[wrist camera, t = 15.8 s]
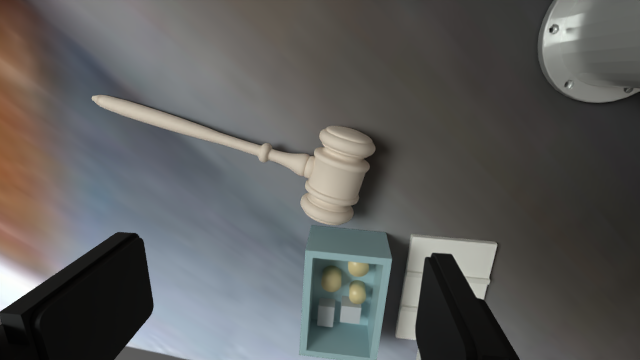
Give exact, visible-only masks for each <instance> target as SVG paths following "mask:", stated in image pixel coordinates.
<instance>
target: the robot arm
mask: <svg viewBox="0 0 640 360" xmlns="http://www.w3.org/2000/svg"><path fill="white" fill-rule="evenodd" d="M549 28H550V29H551V32H549ZM538 59H539V63H540V66H541V69H542V72H543V74H544V76H545V77H546V79H547V81H548V82H549V83H550V84H551V85H552V86H553V88H554V89H555V90H557V91H558V92H560V93H561V94H563V95H564V96H566V97H569V98H571V99H574V100H578V101H584V102H593V103H603V102H612V101H616V100H620V99H623V98H627V97H629V96H631V95H633V94H635V93H637V92H640V0H554V1H553V2H552V4H551V5H550V7H549V9H548V11H547V13H546V15H545V17H544V19H543V22H542V25H541V29H540V32H539V39H538ZM565 83H566V85H565ZM153 306H154V305H153V297H152V291H151V285H150V279H149V272H148V266H147V260H146V253H145V247H144V242H143V239H142V238H139V236H138V234H136V233H124V232H117V233H115V234H114V235H112V236H111V237H109V238H108V239H106V240H105V241H103V242H102V243H101V244H99V245H98V246H96V247H95V248H93V249H92V250H90V251H89V252H87V253H86V254H84V255H83V256H81V257H80V258H78V259H77V260H75V261H74V262H73V263H71V264H70V265H68V266H67V267H65V268H64V269H62V270H61V271H59V272H58V273H56V274H55V275H53V276H52V277H50V278H49V279H47V280H46V281H45V282H43V283H42V284H40V285H39V286H37V287H36V288H34V289H33V290H31V291H30V292H28V293H27V294H25V295H24V296H22V297H21V298H20V299H18V300H17V301H15V302H14V303H12V304H11V305H9V306H8V307H6V308H5V309H3V310H2V311H0V319H1V322H2V324H1V325H0V360H114V359H115V358H116V357H117V355H118V354H119V353H120V352H121V351H122V349H123V348H124V347H125V346H126V345H127V343H128V342H129V341H130V340H131V339H132V337H133V336H134V335H135V334H136V332H137V331H138V330H139V329H140V328H141V326H142V325H143V324H144V323H145V322H146V320H147V319H148V318H149V317H150V315H151V314H152V311H153ZM415 336H416V341H417V345H418V349H419V353H420V357H421V360H520V359H519V357H518V356H517V354H516V352H515V351H514V349H513V347H512V346H511V344H510V342H509V341H508V339H507V337H506V335H505V334H504V332H503V330H502V329H501V327H500V325H499V324H498V322H497V320H496V319H495V317H494V315H493V314H492V312H491V310H490V309H489V307H488V305H487V304H486V302H485V301H484V300H483V299H481V298H477V297H476V296H475V294H474V292H473V290H472V289H471V287H470V285H469V283H468V282H467V280H466V278H465V276H464V274H463V273H462V271H461V269H460V267H459V266H458V264H457V262H456V260H455V259H454V257H453V255H452V254H447V253H432V254H431V257H425V261H424V267H423V274H422V281H421V289H420V296H419V303H418V310H417V317H416V324H415Z"/></svg>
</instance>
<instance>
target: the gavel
mask: <svg viewBox="0 0 640 360" xmlns="http://www.w3.org/2000/svg"><path fill="white" fill-rule="evenodd" d="M92 100H93V101H95V102H96V104H97V105H99V106H101V107H103V108H105V109H107V110H110V111H113V112H115V113H118V114H120V115H123V116H126V117H129V118H132V119H135V120H138V121H141V122H145V123H148V124H151V125H154V126H157V127H160V128H164V129H167V130H171V131H174V132H177V133H181V134H185V135H188V136H192V137H195V138H199V139H203V140H206V141H210V142H215V143H219V144H222V145H225V146H229V147H232V148H235V149H238V150H241V151H244V152H247V153H250V154H253V155H256V156H259V160H260V161H261V162H267V161H268V160H271V161H274V162H277V163H279V164H281V165H283V166H285V167H287V168H289V169H291V170H292V171H293V172H295V173H296V174H298V175H299V176H305V177H306V178H309V179H308V180H307V181H306V184H305V188H306V190H307V191H308V192H309V193H306V194H305V195H303V196H302V198H301V206H302V208H303V210H304V211H305V213H306V214H307V215H308V216H309V217H311V218H312V219H314V220H316V221H318V222H321V223H324V224H328V225H341V224H343V223H346V222H348V221H350V220H351V218H352V217H353V214H354V213H353V208H352V207H351V205H354V204H356V203H357V202H358V200H359V195H358V193H359V190H360V187H361V185H362V182H363V179H364V176H365V173H366V172H367V171H368V170H369V168H370V165H369V163H368V162H367V161H366V160H364V158H367V157H368V156H371V155H372V154H373V153H374V152H375V145H374V144H373V141H372V139H371V138H369V137H368V136H367V135H365V134H363V133H361V132H359V131H357V130H354V129H351V128H347V127H341V126H329V127H327V128H326V129H323V130H322V131H321V132H320V136H319V138H320V140H321V141H322V144H323V145H324V147H318V148H316V149H315V151H314V156H309V155H308V154H293V153H286V152H281V151H277V150H274V149H272V146H271V145H270V144H269V143H265V144H263V145H262V146H261V145H257V144H254V143H251V142H247V141H244V140H241V139H238V138H235V137H232V136H229V135H226V134H223V133H220V132H217V131H215V130H212V129H210V128H207V127H204V126H202V125H199V124H196V123H193V122H191V121H188V120H185V119H182V118H179V117H177V116H174V115H171V114H168V113H165V112H162V111H159V110H155V109H152V108H149V107H146V106H143V105H140V104H137V103H134V102H130V101H127V100H123V99H119V98H115V97H111V96H107V95H97V96H93V97H92Z"/></svg>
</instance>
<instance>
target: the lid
mask: <svg viewBox="0 0 640 360" xmlns="http://www.w3.org/2000/svg"><path fill="white" fill-rule="evenodd" d="M497 245H498V244H497V243H496V242H493V241H482V240H471V239H460V238H449V237H438V236H427V235H416V234H411V238H410V245H409V251H408V257H407V263H406V269H405V275H404V281H403V287H402V294H401V300H400V306H399V312H398V318H397V324H396V330H395V336H396V338H403V339H412V340H416V336H415V324H416V317H417V310H418V303H419V296H420V289H421V281H422V274H423V267H424V261H425V257H431V254H432V253H447V254H452V255H453V257H454V259H455V260H456V262H457V264H458V266H459V267H460V269H461V271H462V273H463V274H464V276H465V278H466V280H467V282H468V283H469V285H470V287H471V289H472V290H473V292H474V294H475V296H476V297H477V298H481V299H483V300H484V296H485V292H486V288H487V285H489V284H490V279H489V276H490V272H491V268H492V264H493V260H494V256H495V252H496V248H497ZM416 360H421V357H420V353H419V349H418V353H417V358H416Z"/></svg>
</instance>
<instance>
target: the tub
mask: <svg viewBox="0 0 640 360" xmlns="http://www.w3.org/2000/svg"><path fill="white" fill-rule="evenodd" d="M391 263H392V256H391V252H390V248H389V244H388V240H387V235H386V232H376V231H365V230H355V229H345V228H334V227H324V226H314V225H312V226H311V230H310V234H309V238H308V242H307V246H306V250H305V267H304V284H303V301H302V317H301V334H300V351H299V355H303V356H312V357H320V358H328V359H337V360H377V354H378V348H379V341H380V335H381V328H382V322H383V315H384V308H385V302H386V295H387V289H388V282H389V276H390V269H391Z"/></svg>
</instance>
